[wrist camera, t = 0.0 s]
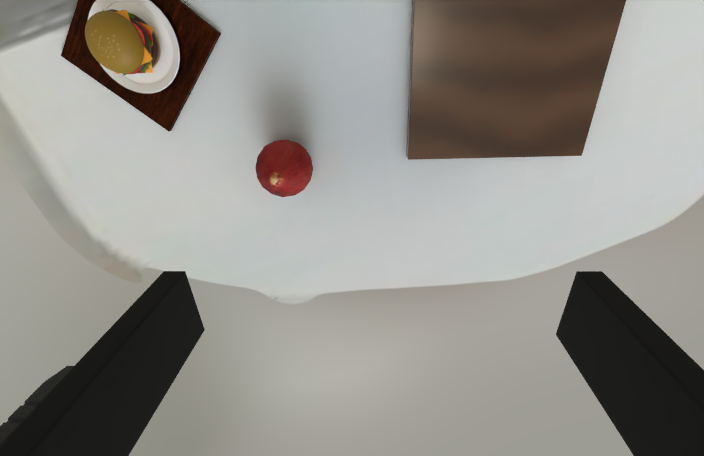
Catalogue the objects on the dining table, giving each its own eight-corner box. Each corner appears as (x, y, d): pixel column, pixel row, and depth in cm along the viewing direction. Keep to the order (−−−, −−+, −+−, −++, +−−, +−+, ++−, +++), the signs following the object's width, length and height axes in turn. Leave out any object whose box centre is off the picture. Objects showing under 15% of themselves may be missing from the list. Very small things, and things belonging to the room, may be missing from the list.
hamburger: (64, 55, 35) (14, 56, 30) (102, -64, 30) (49, -86, 25) (171, 130, 38) (141, 142, 33) (220, 33, 33) (194, 31, 28)
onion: (310, 188, 40) (297, 218, 33) (263, 174, 39) (239, 201, 32) (322, 141, 37) (310, 163, 30) (272, 126, 37) (247, 144, 30)
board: (413, -20, 30) (415, -24, 29) (624, -33, 29) (636, -37, 27) (406, 155, 37) (407, 159, 36) (574, 151, 36) (581, 155, 35)
